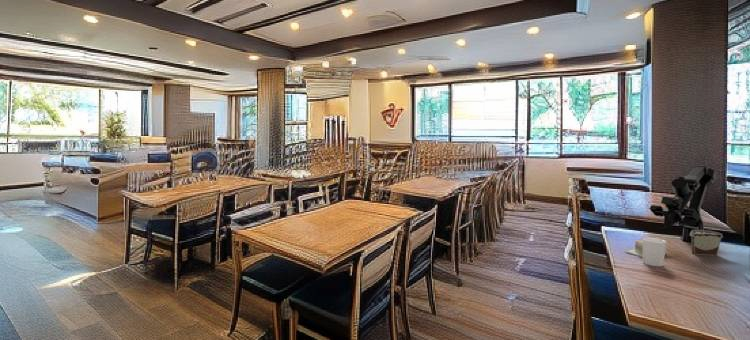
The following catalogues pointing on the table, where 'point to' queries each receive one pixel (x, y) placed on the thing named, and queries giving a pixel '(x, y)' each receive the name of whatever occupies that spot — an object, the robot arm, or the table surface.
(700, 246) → the food container
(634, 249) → the rubber mat
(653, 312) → the table surface
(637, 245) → the walnut block
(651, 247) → the white cup
